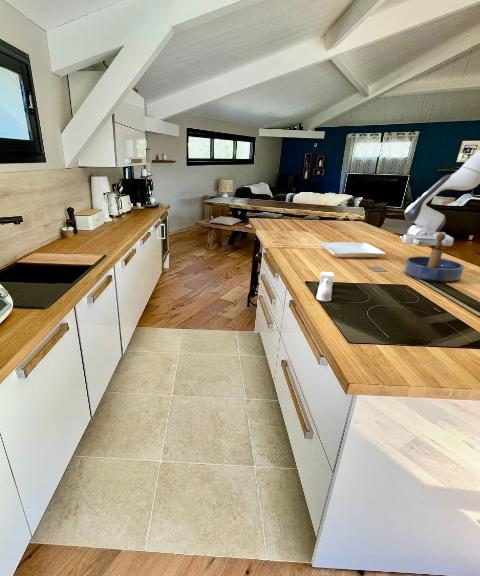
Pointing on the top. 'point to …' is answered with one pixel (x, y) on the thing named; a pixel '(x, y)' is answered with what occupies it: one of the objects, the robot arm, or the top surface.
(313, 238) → the top surface
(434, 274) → the bowl
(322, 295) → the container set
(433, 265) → the mortar and pestle
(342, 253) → the square plate
